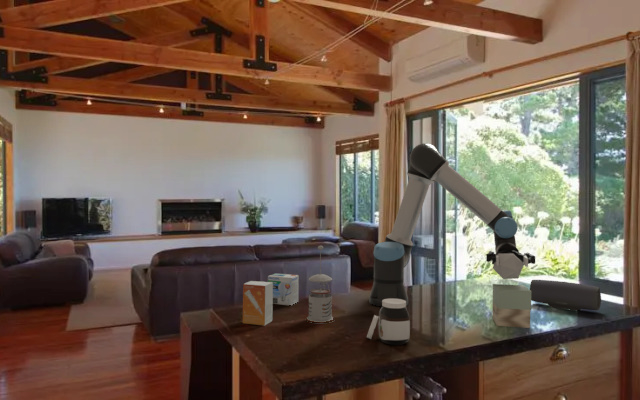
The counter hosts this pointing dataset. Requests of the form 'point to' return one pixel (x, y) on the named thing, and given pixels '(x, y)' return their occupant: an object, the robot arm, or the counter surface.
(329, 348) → the counter surface
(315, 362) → the counter surface
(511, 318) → the tower base
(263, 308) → the small box
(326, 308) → the french press
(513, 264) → the die
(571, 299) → the bluetooth speaker
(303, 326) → the counter surface
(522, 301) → the tower top
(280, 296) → the light bulb box
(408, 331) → the spread jar
